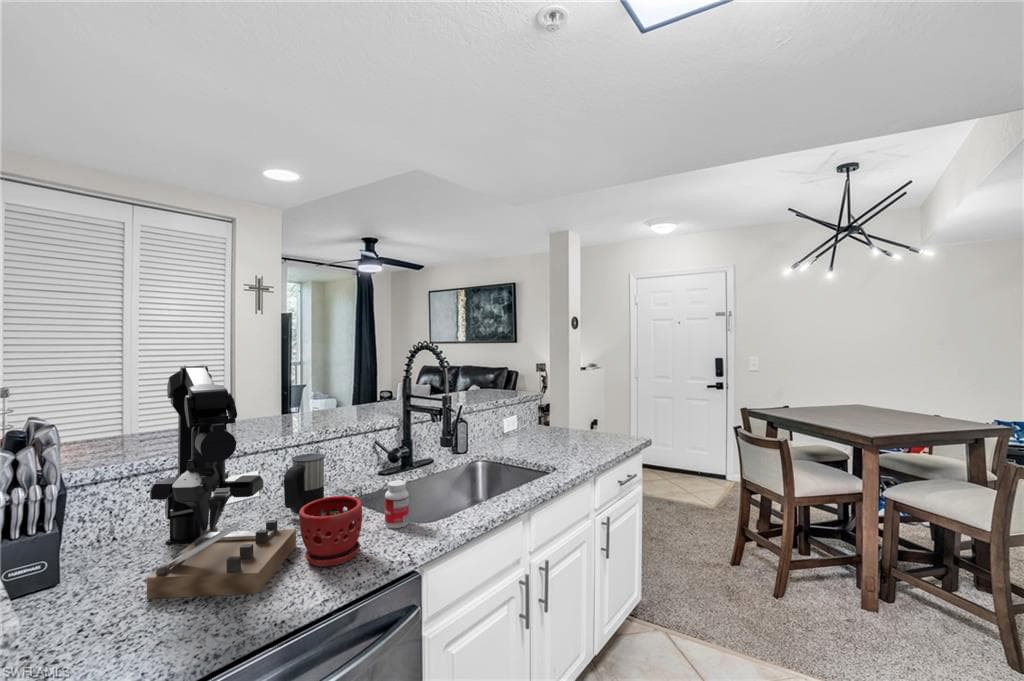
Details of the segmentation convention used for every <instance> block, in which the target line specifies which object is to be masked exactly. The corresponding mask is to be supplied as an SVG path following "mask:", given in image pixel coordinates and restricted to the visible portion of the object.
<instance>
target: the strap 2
mask: <svg viewBox="0 0 1024 681" xmlns="http://www.w3.org/2000/svg"><path fill="white" fill-rule="evenodd" d="M258 530H259V529H257V530H236V531H235V530H234V531H233V532H231V533H229V534H228V535H226V536H224V537H222V538H221V539H219V540H217V541H224V540H250V539H256V532H257V531H258ZM220 532H221V531H218V532H209V533H208V534H207V535H205V536H204V537H205V539H206V540H208V539H210V538H211V537H213V536H215V535H217V534H218V533H220ZM273 534H274V530H268V539H269V538H270V537H271V536H272V535H273Z"/></svg>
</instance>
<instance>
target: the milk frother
mask: <svg viewBox="0 0 1024 681" xmlns="http://www.w3.org/2000/svg"><path fill="white" fill-rule="evenodd" d="M325 458H326V455H325V454H324V453H305V454H298V455H294V456H292V457H291V460H292V463H291V464H292V465H291V467H289V468H288V469H287V470H286V472H285V474H284V477H283V496H284V497H283V498H284V508H286V509H290V511H292V512H295V513H299V512H300V509H301V508H302V507H303V506H305V505H306V504H308V503H310V502H313V501H315V500H318V499H322V498H325V495H324V494H325V492H324V491H325V490H324V489H325V484H324V483H325ZM344 508H345V507H343V509H344ZM335 511H338V510H337V509H332V510H331V512H335Z"/></svg>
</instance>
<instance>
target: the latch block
mask: <svg viewBox="0 0 1024 681" xmlns="http://www.w3.org/2000/svg"><path fill="white" fill-rule="evenodd" d="M257 530H258V531H257V532H256V539H250V540H224V541H216V542H214V543H212V544H210V545H209V546H207V547H205V548H204V549H202V550H200V551H198V552H197V553H195V554H193V555H192V556H190V557H188V558H186V559H185V560H183V561H181V562H179V563H178V564H176V565H174V566H173V567H171V568H170V567H169V565H167V564H169V563H170V562H171V561H172V560H174V559H175V558H177V557H179V556H180V555H182V554H184V553H186V552H187V551H189V550H191V549H192V548H194V547H196V546H198V545H199V544H201V543H203V542H204V541H206V539H205V537H204V536H205V535H207V534H208V533H209V532H219V530H218V527H217V526H216V527H215V529H214V530H212V531H210V529H209V530H208V529H207V532H206V533H205V534H204V535H202V536H201V537H199V538H198V539H197V540H195V541H194V542H193V543H190V544H189V545H188V546H186V547H185V548H184V549H182V550H181V551H180V552H178V553H177V554H175V555H174V556H173V557H172V558H171V559H170V560H168V561H166V563H164V564H163V565H161V566H159V568H157V569H156V570H155V571H154V572H153V573H152V574H150V575H149V576H147V577H146V599H147V600H150V599H151V600H152V599H173V598H174V599H175V598H190V597H191V598H193V597H215V596H216V597H217V596H231V595H233V596H236V595H251V594H252V595H253V594H259V593H260V592H261V590H263V588H264V586H265V585H266V584H267V583H268V582H269V580H270V579H271V578H272V576H274V574H275V573H276V572H277V570H278V569H279V568H280V567H281V565H282V564H283V563H284V561H285V560H286V559H287V558H288V557H289V555H290V554H291V553H292V552H293V551H294V549H295V547H297V529H296V528H294V529H292V528H291V529H289V528H288V529H278V519H272V520H271V519H270V520H267V521H266V522H265V529H257ZM268 530H274V534H273V535H272V536H271V537H270V538H269V539H268Z"/></svg>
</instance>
